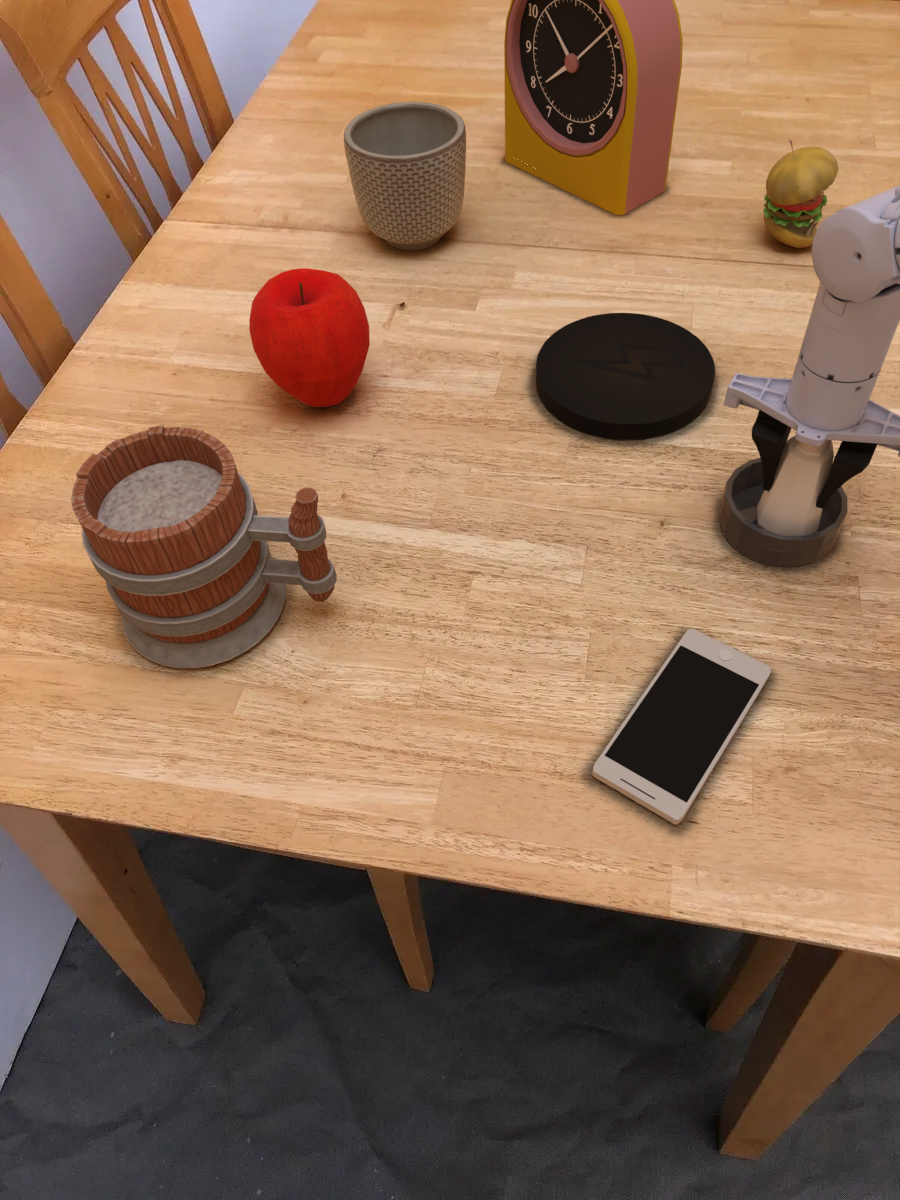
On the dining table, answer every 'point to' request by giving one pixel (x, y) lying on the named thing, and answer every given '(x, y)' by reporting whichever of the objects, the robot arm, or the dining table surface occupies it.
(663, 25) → the alarm clock
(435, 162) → the planter
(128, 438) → the mug
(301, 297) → the apple
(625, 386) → the wireless charger
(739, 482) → the bowl
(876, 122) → the dining table surface
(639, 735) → the smartphone
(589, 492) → the dining table surface
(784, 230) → the hamburger
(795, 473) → the salt shaker
